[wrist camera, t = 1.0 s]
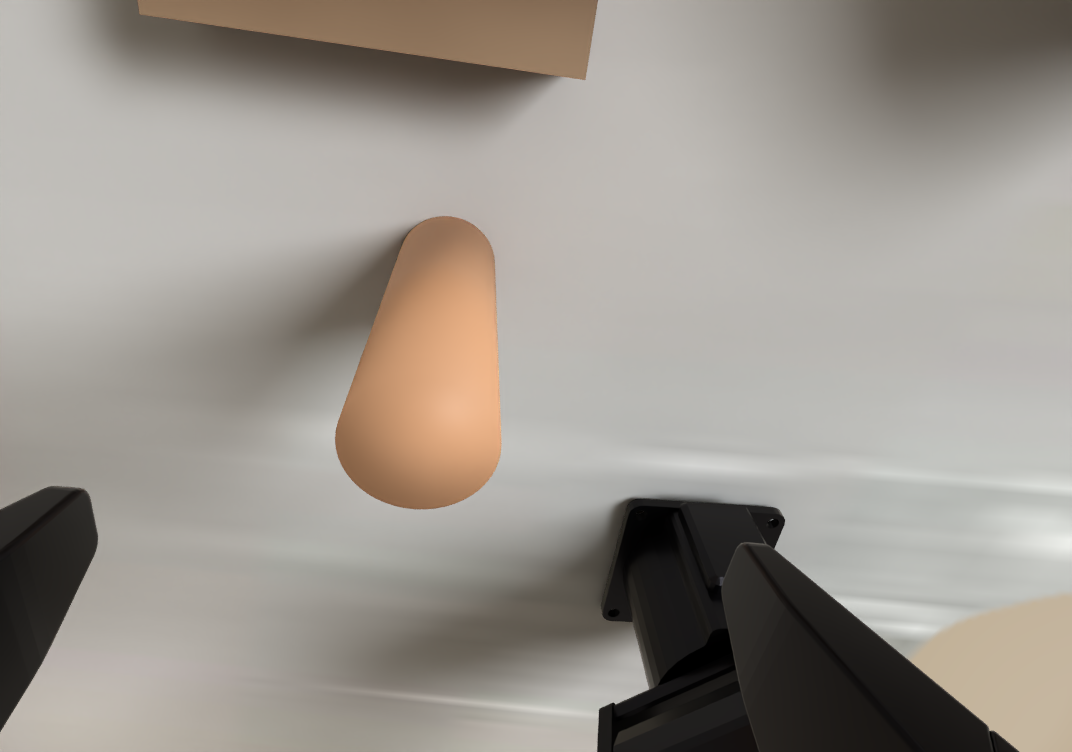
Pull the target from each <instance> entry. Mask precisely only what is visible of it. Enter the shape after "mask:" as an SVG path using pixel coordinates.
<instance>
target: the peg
mask: <svg viewBox="0 0 1072 752" xmlns="http://www.w3.org/2000/svg"><path fill="white" fill-rule="evenodd" d="M335 443H336V450H337V454H338V458H339V460H340V463H341V465H342V467H343V468H344V470H345V472H346V473H347V475H348V476H349V477H350V478H351V480H352V481H353V482H354V483H355V484H356V485H357V486H358V487H359V488H361V489H362V490H363V491H365V492H366V493H367V494H369V495H371V496H373V497H374V498H376V499H378V500H381V501H383V502H385V503H388V504H391V505H394V506H398V507H403V508H410V509H434V508H440V507H445V506H448V505H452V504H455V503H457V502H460V501H462V500H464V499H466V498H468V497H469V496H471V495H473V494H474V493H475V492H477V491H478V490H479V489H480V488H481V487H482V486H483V485H484V484H485V483H486V482H487V481H488V480H489V479H490V477H491V476H492V474H493V472H494V471H495V469H496V467H497V464H498V462H499V458H500V453H501V421H500V394H499V366H498V339H497V312H496V285H495V261H494V254H493V250H492V247H491V245H490V243H489V241H488V239H487V238H486V237H485V235H484V234H483V233H482V232H481V231H480V230H479V229H478V228H477V227H475V226H474V225H473V224H471V223H469V222H467V221H465V220H463V219H459V218H456V217H448V216H442V217H435V218H431V219H428V220H425V221H423V222H421V223H420V224H418V225H417V226H415V227H414V228H413V229H412V230H411V231H410V232H409V234H408V235H407V236H406V238H405V240H404V242H403V244H402V246H401V249H400V252H399V255H398V257H397V260H396V263H395V266H394V269H393V271H392V274H391V277H390V280H389V282H388V285H387V288H386V291H385V293H384V296H383V299H382V302H381V304H380V307H379V310H378V313H377V316H376V318H375V321H374V324H373V327H372V329H371V332H370V335H369V338H368V340H367V343H366V346H365V349H364V351H363V354H362V357H361V360H360V362H359V365H358V368H357V371H356V374H355V376H354V379H353V382H352V385H351V387H350V390H349V393H348V396H347V398H346V401H345V404H344V407H343V409H342V412H341V415H340V418H339V421H338V424H337V428H336V436H335Z"/></svg>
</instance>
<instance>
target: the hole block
mask: <svg viewBox="0 0 1072 752" xmlns="http://www.w3.org/2000/svg"><path fill="white" fill-rule="evenodd" d="M137 1H138V8H139V14H140V15H147V16H154V17H161V18H167V19H174V20H181V21H188V22H195V23H201V24H208V25H215V26H222V27H229V28H235V29H242V30H249V31H256V32H263V33H269V34H276V35H283V36H290V37H297V38H303V39H310V40H317V41H324V42H331V43H337V44H344V45H351V46H358V47H365V48H371V49H378V50H385V51H392V52H399V53H405V54H412V55H419V56H426V57H433V58H439V59H446V60H453V61H460V62H467V63H473V64H480V65H487V66H494V67H501V68H507V69H514V70H521V71H528V72H535V73H541V74H548V75H555V76H562V77H569V78H575V79H582V80H585V78H586V72H587V66H588V59H589V53H590V47H591V40H592V34H593V28H594V21H595V15H596V9H597V3H598V0H137Z"/></svg>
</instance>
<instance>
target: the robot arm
mask: <svg viewBox="0 0 1072 752" xmlns="http://www.w3.org/2000/svg"><path fill="white" fill-rule="evenodd" d="M641 510H643V511H644V512H642V513H639V514H637V513H636V512H638V511H641ZM771 519H773V520H772V521H769V520H771ZM768 521H769V522H768ZM784 524H785V519H784V517H783V515H782V513H781V512H780V510H778V509H777V508H773V507H759V506H743V505H728V504H713V503H697V502H682V501H666V500H651V499H636V500H634V501H632V502H630V503H629V504H628V506H627V508H626V512H625V516H624V520H623V523H622V527H621V531H620V535H619V539H618V542H617V546H616V550H615V554H614V558H613V562H612V565H611V569H610V573H609V577H608V581H607V584H606V588H605V592H604V596H603V600H602V603H601V610H602V615H603V617H604V618H605V619H606V620H609V621H625V622H633V624H634V628H635V633H636V637H637V641H638V645H639V649H640V653H641V657H642V661H643V665H644V670H645V674H646V678H647V682H648V686H649V690H647V691H645V692H642V693H640V694H638V695H636V696H634V697H631V698H629V699H627V700H625V701H622V702H620V703H618V704H615V703H611V704H609V705H607V706H605V707H602V708H600V709H599V725H598V747H597V752H1019V751H1018V750H1017V749H1016V748H1014V747H1013V746H1012V745H1011V744H1010V743H1008V742H1007V741H1006V740H1005V739H1004V738H1002V737H1001V736H1000V735H999V734H997V733H996V732H995V731H989V728H988V726H987V725H986V724H985V723H984V722H983V721H982V720H980V719H979V718H978V717H977V716H975V715H974V714H973V713H972V712H971V711H969V710H968V709H967V708H966V707H965V706H963V705H962V704H961V703H959V701H957V700H956V699H955V698H954V697H952V696H951V695H950V694H949V693H948V692H946V691H945V690H944V689H943V688H942V687H940V686H939V685H938V684H936V683H935V682H934V681H933V680H932V679H930V678H929V677H928V676H927V675H926V674H925V673H923V672H922V671H921V670H920V669H919V668H917V667H916V666H915V665H914V664H912V663H911V662H910V661H909V660H908V659H906V658H905V657H904V656H903V655H902V654H900V653H899V652H898V651H897V650H896V649H894V648H893V647H892V646H891V645H889V644H888V643H887V642H886V641H885V640H883V639H882V638H881V637H880V636H879V635H877V634H876V633H875V632H874V631H873V630H871V629H870V628H869V627H868V626H866V625H865V624H864V623H863V622H862V621H860V620H859V619H858V618H857V617H856V616H854V615H853V614H852V613H851V612H850V611H848V610H847V609H846V608H845V607H843V606H842V605H841V604H840V603H839V602H837V601H836V600H835V599H834V598H833V597H831V596H830V595H829V594H828V593H827V592H825V591H824V590H823V589H822V588H820V587H819V586H818V585H817V584H816V583H814V582H813V581H812V580H811V579H810V578H808V577H807V576H806V575H805V574H804V573H802V572H801V571H800V570H799V569H797V568H796V567H795V566H794V565H793V564H791V563H790V562H789V561H788V560H787V559H785V558H784V557H783V556H782V555H781V554H779V553H778V552H777V551H776V550H774V548H775V546H776V543H777V541H778V538H779V536H780V534H781V531H782V529H783V526H784ZM97 544H98V533H97V528H96V523H95V518H94V514H93V509H92V504H91V499H90V496H89V494H88V492H87V491H86V490H84V489H82V488H74V487H62V486H50V487H47V488H44V489H42V490H40V491H38V492H36V493H34V494H32V495H30V496H27V497H25V498H23V499H21V500H19V501H17V502H15V503H13V504H11V505H9V506H7V507H5V508H3V509H1V510H0V732H1V730H2V728H3V727H4V725H5V723H6V722H7V720H8V719H9V717H10V715H11V714H12V712H13V710H14V709H15V707H16V706H17V704H18V702H19V701H20V699H21V697H22V696H23V694H24V693H25V691H26V689H27V688H28V686H29V684H30V683H31V681H32V679H33V678H34V676H35V674H36V673H37V671H38V669H39V667H40V666H41V664H42V662H43V660H44V658H45V656H46V654H47V652H48V651H49V649H50V647H51V645H52V643H53V641H54V638H55V636H56V634H57V632H58V630H59V628H60V626H61V624H62V622H63V620H64V617H65V615H66V613H67V611H68V609H69V607H70V605H71V603H72V601H73V599H74V597H75V594H76V592H77V590H78V588H79V586H80V584H81V582H82V580H83V578H84V576H85V573H86V571H87V569H88V567H89V565H90V563H91V561H92V559H93V557H94V554H95V552H96V548H97ZM611 609H613V610H611Z"/></svg>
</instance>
